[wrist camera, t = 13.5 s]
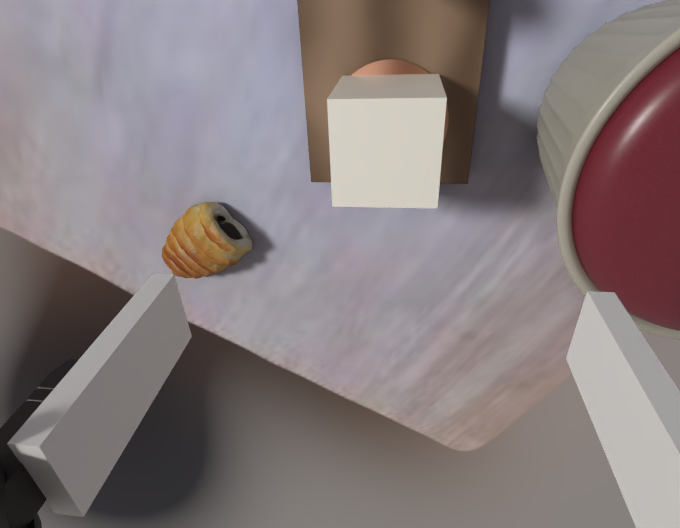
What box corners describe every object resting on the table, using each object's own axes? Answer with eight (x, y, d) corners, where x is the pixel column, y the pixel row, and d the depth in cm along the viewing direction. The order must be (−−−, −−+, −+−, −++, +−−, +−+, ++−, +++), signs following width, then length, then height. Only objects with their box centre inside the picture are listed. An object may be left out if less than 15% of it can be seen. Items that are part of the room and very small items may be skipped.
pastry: (200, 283, 49) (185, 304, 46) (152, 237, 46) (133, 256, 43) (260, 240, 45) (249, 259, 42) (212, 188, 42) (196, 205, 39)
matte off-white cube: (342, 75, 33) (326, 99, 27) (438, 73, 32) (447, 97, 26) (345, 166, 37) (332, 206, 31) (431, 167, 36) (437, 208, 30)
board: (502, -155, 27) (545, -214, 19) (465, 174, 38) (481, 229, 30) (293, -139, 29) (247, -186, 21) (315, 173, 40) (291, 225, 32)
